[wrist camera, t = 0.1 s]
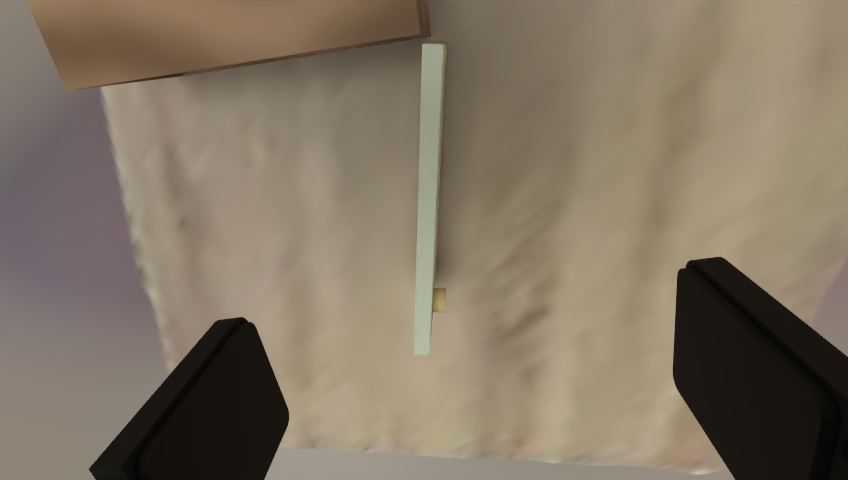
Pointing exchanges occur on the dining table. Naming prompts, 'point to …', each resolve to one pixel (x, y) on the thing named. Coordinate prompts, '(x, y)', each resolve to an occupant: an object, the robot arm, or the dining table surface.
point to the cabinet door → (429, 193)
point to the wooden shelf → (209, 34)
